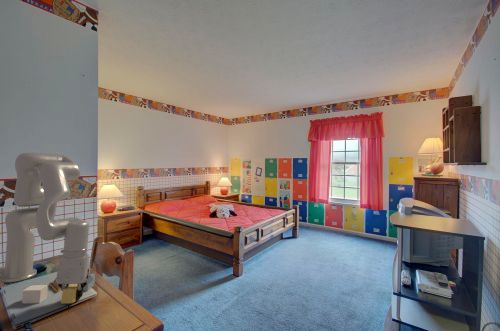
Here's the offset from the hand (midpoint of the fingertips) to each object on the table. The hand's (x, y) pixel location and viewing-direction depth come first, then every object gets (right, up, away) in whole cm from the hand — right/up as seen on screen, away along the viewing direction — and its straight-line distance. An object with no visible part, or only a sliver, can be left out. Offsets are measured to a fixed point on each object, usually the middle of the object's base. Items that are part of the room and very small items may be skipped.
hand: (72, 298), depth 93 cm
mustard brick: (0, 0, -1) cm, 1 cm away
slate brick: (-1, -1, +10) cm, 10 cm away
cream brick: (-14, 0, -1) cm, 14 cm away
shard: (-13, -1, +11) cm, 17 cm away
